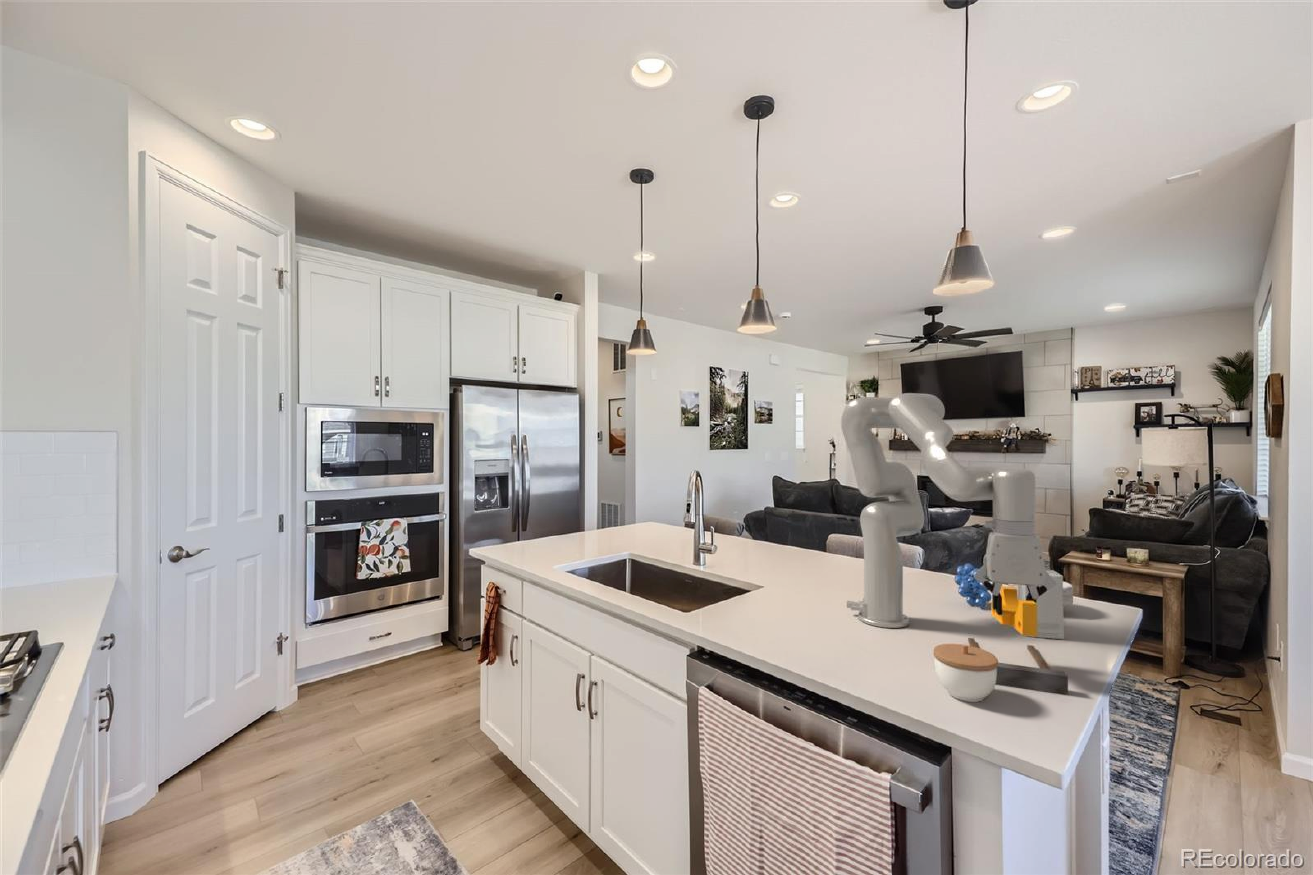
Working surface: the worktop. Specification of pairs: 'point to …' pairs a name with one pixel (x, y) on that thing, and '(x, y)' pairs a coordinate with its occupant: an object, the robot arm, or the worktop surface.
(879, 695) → the worktop surface
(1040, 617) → the skincare box
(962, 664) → the lidded jar
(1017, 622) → the pipe clamp
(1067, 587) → the paper bowls
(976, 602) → the grapes
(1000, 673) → the rail
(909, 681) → the worktop surface
